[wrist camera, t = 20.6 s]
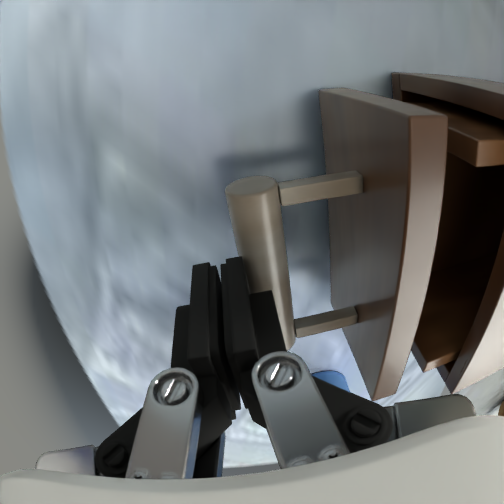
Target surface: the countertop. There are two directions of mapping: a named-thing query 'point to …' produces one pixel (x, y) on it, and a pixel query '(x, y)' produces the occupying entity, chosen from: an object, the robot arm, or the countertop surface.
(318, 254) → the countertop surface
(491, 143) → the drawer
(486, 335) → the cabinet
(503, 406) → the potato
